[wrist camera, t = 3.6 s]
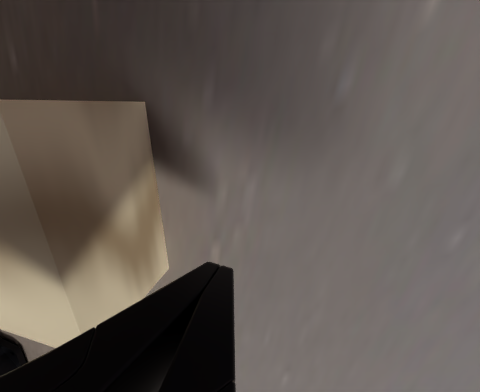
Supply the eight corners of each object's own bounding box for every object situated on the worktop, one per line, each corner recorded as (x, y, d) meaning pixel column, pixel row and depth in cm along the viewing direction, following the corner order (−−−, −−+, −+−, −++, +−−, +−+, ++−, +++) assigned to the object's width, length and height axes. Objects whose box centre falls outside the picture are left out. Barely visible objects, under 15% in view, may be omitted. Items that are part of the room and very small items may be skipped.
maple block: (171, 266, 12) (90, 359, 8) (55, 243, 14) (-62, 308, 10) (148, 101, 9) (-5, 99, 5) (6, 103, 11) (-193, 103, 7)
